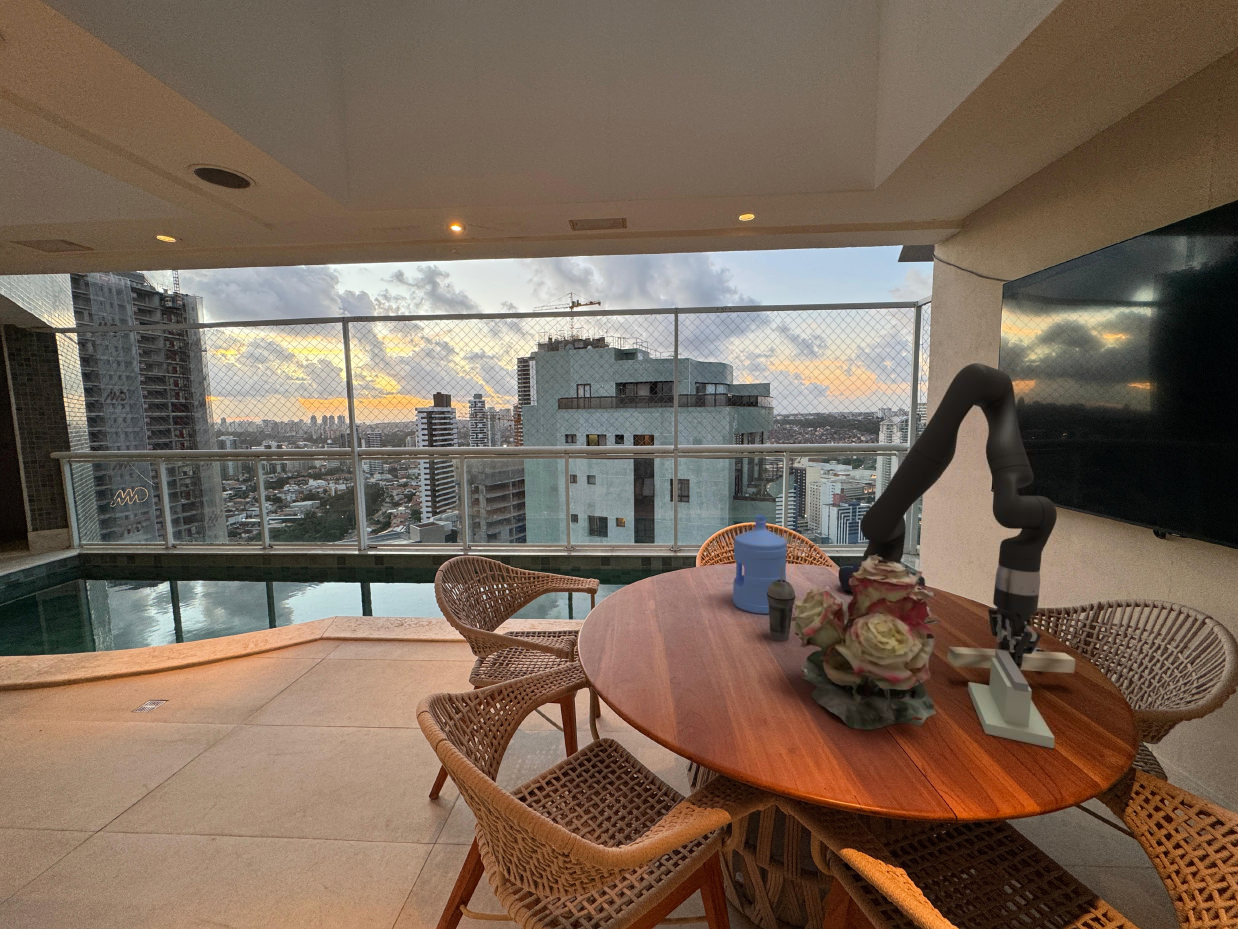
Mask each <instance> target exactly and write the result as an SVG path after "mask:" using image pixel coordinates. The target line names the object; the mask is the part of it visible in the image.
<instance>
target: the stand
mask: <svg viewBox="0 0 1238 929" xmlns="http://www.w3.org/2000/svg"><path fill="white" fill-rule="evenodd" d="M995 657H996V658H991V668H990V671H989V685H987V684H982V683H977V682H976V683H975V682H971V681H968V683H967V685H968V686H967V692H968V694H970V695H969V696H970V699H972V700H971V702H972V701H973V702H972V704H973V706H974V709H975V711H976V714H977V717H978V718H979V719H978V720H979V721H980V723H981V727H982V729H983V730H984V734H985V735H986V734H987V735H990V736H995V737H1000V738H1004V739H1009V740H1013V741H1014V740H1015V741H1018V742H1022V743H1026V744H1032V745H1036V746H1041V747H1046V748H1050V749H1054V748H1055V738H1056V737H1055V736H1054V734H1053V733H1052V731H1051V729H1050V727H1048V724H1047V723H1046V721H1045V720H1044V718H1043V716H1042V715H1041V713H1040V711H1039V710H1038V709H1037V707H1036V705H1035V704H1034V702H1033V700H1032V693H1033V691H1032V689H1031V687H1030V685H1029V683H1028V681H1027V680H1026V678H1025V676H1024V675H1023V673H1022V672H1021V670H1019V669H1018V667H1017V665H1016V664H1015V662H1014V661H1013V659H1012V658H1011V656H1010V655H1009V653H1008V651H1003V650H995Z"/></svg>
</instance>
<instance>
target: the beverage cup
mask: <svg viewBox="0 0 1238 929" xmlns="http://www.w3.org/2000/svg"><path fill="white" fill-rule="evenodd" d="M767 599H768V603H769V614H768V618H769V632H770V633H769V634H770V638H771V639H772V640H774V641H777V642H787V641H788V640H789V638H790V632H791V625H792V624H791V623H792V621H791V618H792V617H793V616H792V615H793V611H794V610H793V609H794V606H795V604H794V603H795V602H796V601H795V600H796V591H795V589H794V587H793V585H792V584H791V583H790V582H788V580H786V581H785V580H783V565H781V578H780V580H776V581H773V582H772V583H771V584H770V586H769V587H768V590H767Z"/></svg>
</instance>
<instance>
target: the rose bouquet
mask: <svg viewBox="0 0 1238 929" xmlns="http://www.w3.org/2000/svg"><path fill="white" fill-rule="evenodd" d="M876 555H878V554H876ZM876 555H875V556H869V558H868V559H867V560H866V561H863V560H862V561H861V562H860V563H861V564H862V565H861V567H860V569H859V571H858V572H857V573H852V575H850V576H851V578H850V579H849V586H850V588H851V590H852V591H853V592H852V599H851V600H850V601H847V600H844V599H841V598H839V597H838V596H837V595H836V594H834V593H833V592H832V591H831V589H830V587H829V586H828V585H826V586H823V587H820V588H813V589H810V590H809V591H808V592H807V593H806V596H805V597H804V598H803V599H801V600H797V601H794V606H795V608H794V610H795V616H792V618H791V622H794V624H793V630H792V632H793V633H794V635H796V636H797V638H798V639H800V640H801V643H800V647H801V648H806V647H808V646H813V647H814V646H815V647H818V648H820V649H821V650H815V651H812V652H811V653H810V654H809V655H808V656H806V660H805V663H804V664H803V665H802V667H801V668H800V670H801V672H802V673H803V674H804V676H805V677H801V678H802V679H804V680H806V681H808V682H809V683H811V684H812V685H814V686H815V687H816V688H815V689H814V690H813V691H812V692H811V693H810V695H811V696H812V698H813V699H814V700H815V701H816V703H817V704H818V705H820V706H822V707H824V708H825V709H826V710H828V711H829V712H830V713H833V714H835V716H838V717H839V718H840V719H841V720H842V721H843V723H844V724H846V726H847V727H849V728H850V729H858V730H866V731H868V730H869V731H870V730H877V729H881V728H883V727H887V726H888V727H889V726H891V725H894V724H910V725H917V726H922V725H923V723H925V721H926V719H927V718H929V717H931V716H933V715H935V714H937V711H935V709H934V707H935V704H934V700H933V699H932V698H931V697H930V694H928V692H927V690H926V686H925V682H926V681H929V680H930V678H931V674H930V671H929V661H930V660H929V659H930V656H931V654H932V652H933V648H934V646H935V645H936V639H935V637H934V635H933V634H932V631H931V629H930V627H928V626H927V625H929V624H937V623H939V622H941V621H942V620H937V619H933V620H928V619H927V618H930V617H932V614H931V612H930V607H929V606H928V603H927V600H926V599H927V598H931V599H932V600H934V599H935V597H936V596H937V594H934V592H933V591H932V590H930V589H929V588H927V586H925V587H924V586H922V585H918V578H920V577H921V576H922V575H923V571H917V573H916V575H915V576H913V575H912V574H911V573H910V572H911V569H909V568H905V567H904V565H903V564H902V563H900V564H899V563H895V562H891V561H890V562H889V561H886V560H883V559H882V558H880V557H878V556H876ZM909 571H910V572H909ZM922 577H923V576H922ZM794 677H796V676H794ZM844 688H845V689H844ZM909 691H910V692H909ZM910 693H911V694H910ZM861 694H863V695H861ZM864 695H865V696H864ZM901 697H902V698H901ZM913 718H920V720H915V719H913Z"/></svg>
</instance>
